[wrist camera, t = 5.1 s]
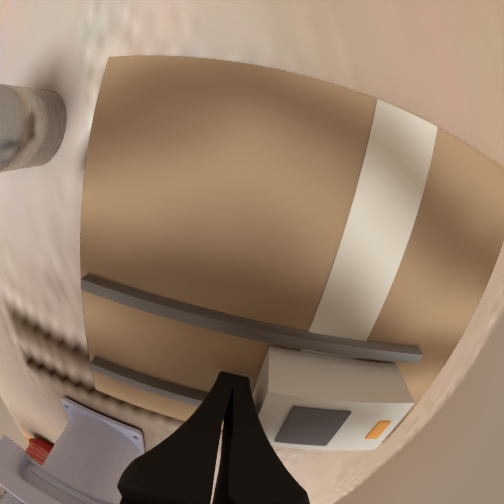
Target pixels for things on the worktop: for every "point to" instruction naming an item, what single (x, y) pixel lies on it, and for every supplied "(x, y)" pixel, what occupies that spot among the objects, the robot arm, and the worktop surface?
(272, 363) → the block
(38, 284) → the worktop surface
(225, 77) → the board
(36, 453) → the liquor
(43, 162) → the marbled round peg
